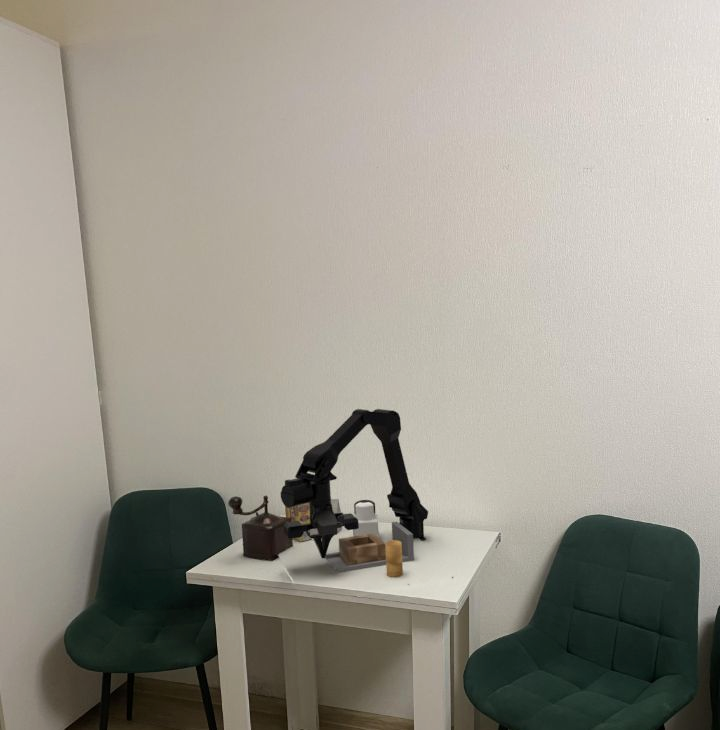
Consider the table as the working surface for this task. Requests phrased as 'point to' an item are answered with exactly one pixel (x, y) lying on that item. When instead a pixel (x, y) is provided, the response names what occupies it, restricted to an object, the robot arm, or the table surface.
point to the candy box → (299, 517)
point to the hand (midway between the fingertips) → (323, 557)
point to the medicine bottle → (366, 518)
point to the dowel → (394, 558)
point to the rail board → (397, 534)
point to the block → (361, 549)
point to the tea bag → (336, 509)
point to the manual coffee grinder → (262, 532)
